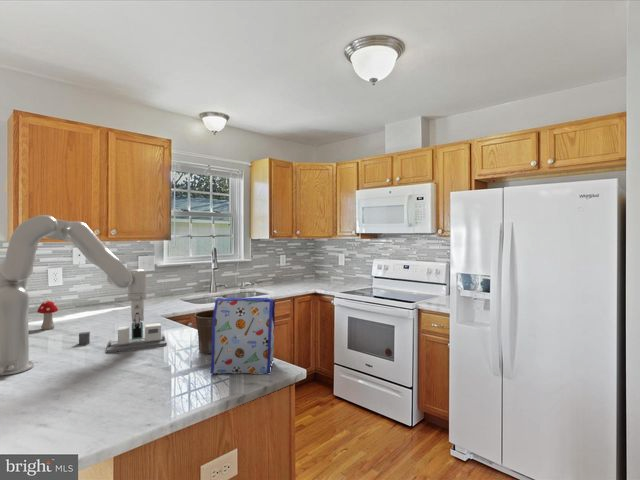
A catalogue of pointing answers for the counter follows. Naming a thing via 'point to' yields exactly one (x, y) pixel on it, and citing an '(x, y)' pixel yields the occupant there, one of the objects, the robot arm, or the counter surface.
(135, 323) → the teal module
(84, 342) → the grey rectangular block
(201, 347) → the plant pot
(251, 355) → the lunch bag
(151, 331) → the block
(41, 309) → the decorative mushroom
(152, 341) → the metal rail
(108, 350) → the board
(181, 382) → the counter surface
